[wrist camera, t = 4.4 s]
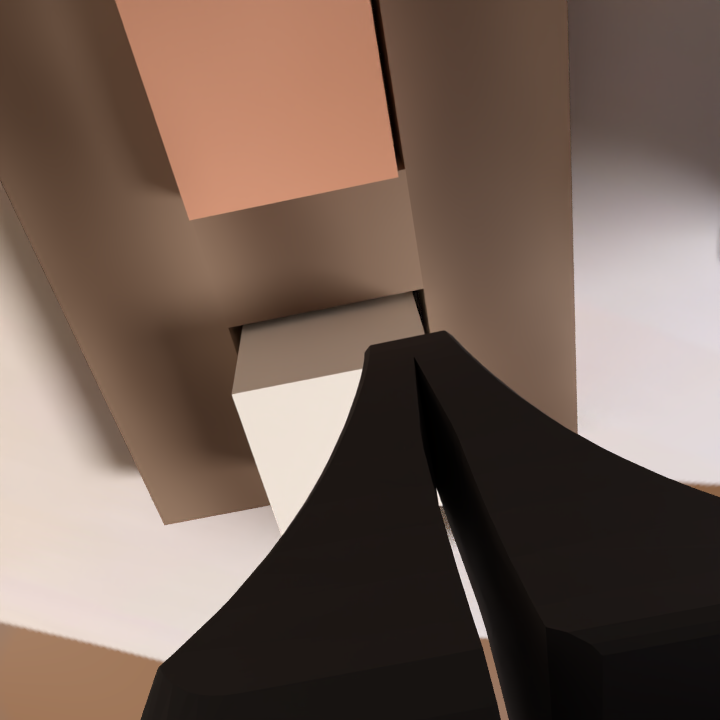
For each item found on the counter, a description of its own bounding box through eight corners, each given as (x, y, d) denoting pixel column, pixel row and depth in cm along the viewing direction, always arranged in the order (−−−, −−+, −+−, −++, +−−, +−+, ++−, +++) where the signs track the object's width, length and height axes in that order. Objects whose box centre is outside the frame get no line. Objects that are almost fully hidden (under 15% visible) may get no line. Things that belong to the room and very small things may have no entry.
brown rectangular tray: (495, -897, 11) (541, -1099, 9) (554, 403, 25) (577, 446, 22) (-329, -674, 11) (-473, -813, 9) (176, 475, 25) (164, 525, 23)
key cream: (410, 285, 20) (431, 355, 17) (432, 418, 23) (454, 503, 19) (244, 318, 20) (231, 394, 17) (284, 447, 23) (281, 535, 19)
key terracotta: (347, -72, 17) (358, -74, 13) (382, 135, 19) (398, 176, 16) (148, -27, 17) (109, -19, 13) (209, 171, 19) (189, 220, 16)
